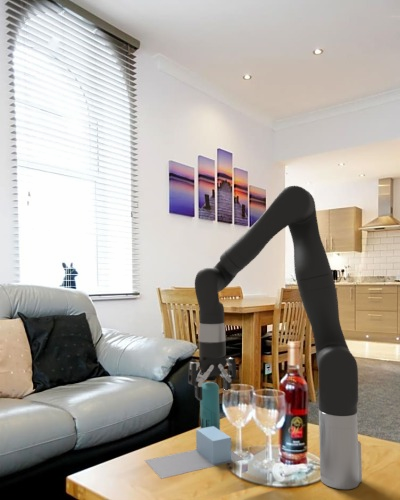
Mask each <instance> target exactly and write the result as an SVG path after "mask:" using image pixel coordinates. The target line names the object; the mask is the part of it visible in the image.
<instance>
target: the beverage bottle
mask: <svg viewBox="0 0 400 500" xmlns="http://www.w3.org/2000/svg"><path fill="white" fill-rule="evenodd" d="M203 375H204V374H203ZM216 380H217V376H212V377H209V376H208V377H207V379H206V380H205V381H204V382H203V384H202V386H201V387H202V400H201V401H199V406H200V407H199V408H200V409H199V410H200V411H199V413H200V416H199V417H200V418H199V426H200V429H201V428H206V427H212V426H214V427H216V428H217V429H219V430H220V431H221V417H220V416H221V415H220V386H219V385H218V384H217V382H213V381H216Z"/></svg>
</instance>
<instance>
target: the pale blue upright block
mask: <svg viewBox="0 0 400 500" xmlns="http://www.w3.org/2000/svg"><path fill="white" fill-rule="evenodd" d="M195 433H196V436H195V437H196V439H195V440H196V442H195V443H196V445H195V446H196V447H195V448H196V449H195V450H196V451H197V452H198V453H200V454H201V455H202V456H203V457H205V458H206V459H207V460H208V461H210V462H211V463H212V464H217V463H221V462H226V461H230V460H231V451H232V437H231V436H229V435H228V434H227V433H225V432H224V431H222V430H221V429H220V430H219V429H217V428H216V427H214V426H212V427H206V428H201V427H200V428H196V429H195Z"/></svg>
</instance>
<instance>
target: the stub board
mask: <svg viewBox="0 0 400 500" xmlns="http://www.w3.org/2000/svg"><path fill="white" fill-rule="evenodd" d="M243 460H244V458H242V457H241V456H240V455H238V454H237V453H236V452H234V451H233V450H231V460H230V461H226V462H221V463H217V464H212V463H211V462H210V461H208V460H207V459H206V458H205V457H203V456H202V455H201V454H200V453H198V452H197V451H196V449H192V450H187V451H182V452H178V453H173V454H169V455H163V456H159V457H154V458H149V459H145V460H144V462H145V463H146V464H147V465H148V466H149V467H150V468H151V469H152V470H153V471H154V473H155V474H156V475H157V476H158V477H159V478H160V479H161V480H162V479H166V478H167V479H168V478H170V477H175V476H179V475H184V474H189V473H191V472H196V471H199V470H200V471H201V470H203V469H204V470H205V469H208V468H212V467H218V466H221V465H226V464H229V463H234V462H239V461H243Z"/></svg>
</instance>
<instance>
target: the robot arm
mask: <svg viewBox="0 0 400 500" xmlns="http://www.w3.org/2000/svg"><path fill="white" fill-rule="evenodd" d="M316 209H317V207H316V201H315V198H314V197H313V195H312V194H311V193H310V192H309V191H308V190H306V189H305V188H303V187H302V186H298V185H289V186H287V187H285V188H283V189H282V190H281V191H280V192H279V193H278V194H277V196H276V197H275V198H274V199H273V201H272V202H271V203H270V205H269V206H268V207H267V209H265V211H264V212H263V214H261V216H260V217H259V218H258V219H257V220H256V221H255V222H254V223H253V224H252V225H251V226H250V227H249V228H248V229H247V230H246V231H245V232H244V233H243V234H242V235H241V236H240V237H239V238H237V239H236V240H235V241H233V243H232V244H231V245H230V246H229V247H228V248H226V250H225V251H223V252H222V253H221V255H220V257H219V261H218V262H217V263H216V264H215V265H214V266H213V267H211V268H210V267H207V268H201V269H199V271H198V272H197V273H196V276H195V278H194V290H195V296H196V300H197V304H198V309H199V313H198V315H199V317H198V319H199V320H198V321H199V325H198V356H199V357H198V358H199V360H198V362H195V361H194V362H193V361H189V362H188V370H187V371H188V373H187V374H188V375H187V376H188V377H187V378H188V379H187V380H188V381H187V382H188V384H189V385H192V386H194V397H195V398H196V400H197V401H199V402H200V401H201V400H202V387H201V386H202V384H203V383H205V382H206V379H207V377H208V376H209V377H212V376H216V377H219V376H220V377H221V378H222V379H223V382H222V387H223V388H222V390H224V389H225V390H228V389H231V388H232V387H231V386H232V385H231V384H232V383H231V382H232V381H234V380H235V381H236V380H237V378H238V374H237V373H238V372H237V362H236V361H237V359H236V358H234V357H231V356H228V357H227V358H226V355H227V353H226V352H227V350H226V349H227V348H226V342H227V340H226V327H225V307H224V305H223V303H222V302H220V296H219V292H221V291H223V290H225V288H227V287H228V286H229V285H230V284H231V283H232V281H234V280H235V278H236V276H237V275H238V273H240V272H242V271H243V269H245V268H246V267H247V266H249V264H251V263H252V261H254V259H256V258H257V256H259V254H260V253H261V252H262V251H263V249H264V248H265V247H266V246H267V244H268V243H269V242H270V241H271V240H272V239H273V238H274V237H275V236H276V235H277V234H278V233H280V232H281V231H282V230H283V229H285V228H287V227H288V229H289V233H290V235H291V239H292V244H293V264H294V274H295V279H296V285H297V288H298V292H299V296H300V299H301V302H302V305H303V308H304V311H305V313H306V316H307V318H308V321H309V325H310V326H311V331H312V334H313V335H312V336H313V340H314V341H313V342H314V347H315V355H316V365H317V368H318V435H319V436H318V438H319V439H318V440H319V473H320V476H319V477H320V481H321V482H322V484H324V485H325V486H327V487H330V488H333V489H338V490H352V489H355V488H358V486H359V485H360V483H362V482H363V470H362V469H363V467H362V466H363V465H362V463H363V462H362V443H361V441H359V436H358V435H359V431H358V402H359V372H358V371H359V369H358V362H357V360H356V358H355V356H354V355H353V354H352V353H351V351H350V349H349V347H348V344H347V341H346V338H345V336H344V333H343V329H342V326H341V321H340V312H339V311H340V310H339V300H338V291H337V288H336V287H337V286H336V282H335V279H334V275H333V271H332V268H331V265H330V261H329V258H328V255H327V252H326V249H325V246H324V244H323V241H322V238H321V234H320V229H319V224H318V223H319V222H318V218H317V210H316ZM226 365H227V368H228V371H227V370H226V369H225V367H226ZM198 370H199V372H198V373H197V371H198ZM203 374H204V375H203ZM231 390H232V389H231Z"/></svg>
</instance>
